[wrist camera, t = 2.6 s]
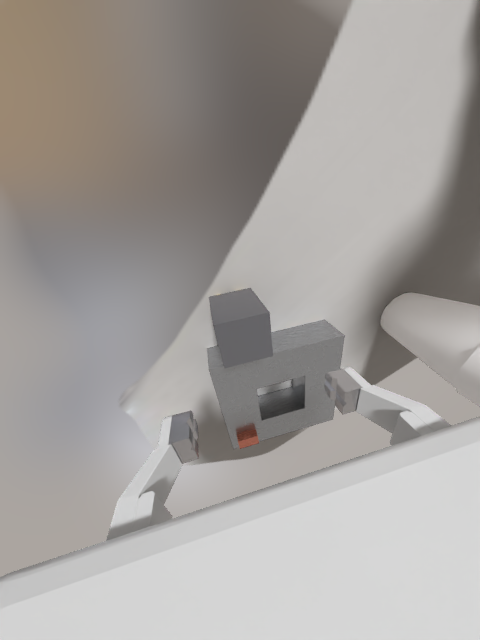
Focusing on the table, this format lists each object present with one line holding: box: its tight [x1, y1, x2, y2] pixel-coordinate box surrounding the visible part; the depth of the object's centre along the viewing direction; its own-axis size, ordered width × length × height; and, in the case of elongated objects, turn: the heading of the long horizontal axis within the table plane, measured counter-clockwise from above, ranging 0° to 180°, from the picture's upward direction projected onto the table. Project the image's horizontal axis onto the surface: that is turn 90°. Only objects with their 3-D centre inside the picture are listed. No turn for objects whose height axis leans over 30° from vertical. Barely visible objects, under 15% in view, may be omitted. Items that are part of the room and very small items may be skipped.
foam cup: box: [380, 292, 480, 407], centre depth 22 cm, size 10×9×13 cm
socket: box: [207, 320, 345, 449], centre depth 27 cm, size 16×16×5 cm
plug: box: [209, 288, 273, 369], centre depth 19 cm, size 4×4×8 cm
